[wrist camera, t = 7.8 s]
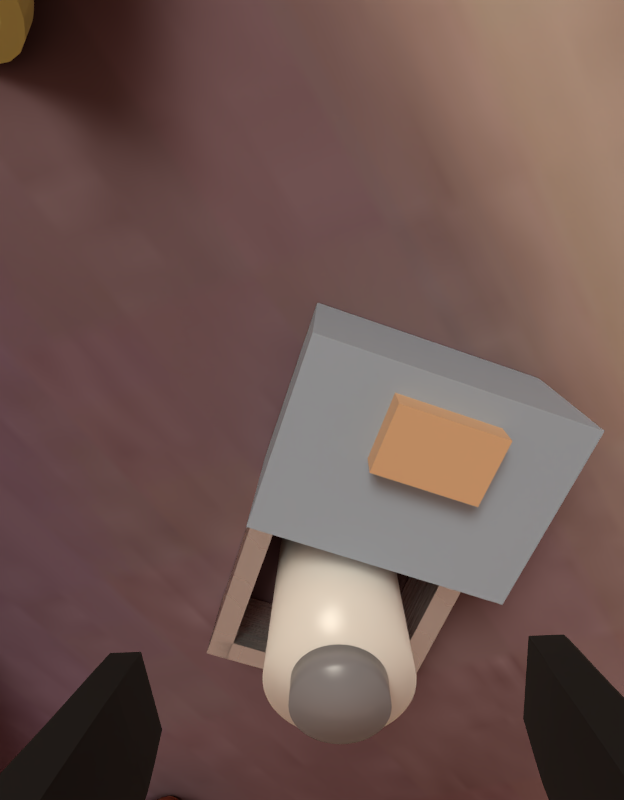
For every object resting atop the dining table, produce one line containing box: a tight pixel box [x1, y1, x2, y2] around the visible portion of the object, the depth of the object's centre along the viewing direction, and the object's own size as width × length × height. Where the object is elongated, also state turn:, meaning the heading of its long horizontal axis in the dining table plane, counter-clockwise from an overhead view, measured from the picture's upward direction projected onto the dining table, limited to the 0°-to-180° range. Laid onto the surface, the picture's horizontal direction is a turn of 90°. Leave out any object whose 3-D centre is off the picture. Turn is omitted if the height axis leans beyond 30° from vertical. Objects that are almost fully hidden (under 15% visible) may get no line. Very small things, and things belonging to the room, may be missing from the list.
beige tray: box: [207, 527, 461, 673], centre depth 19 cm, size 8×8×2 cm
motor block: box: [246, 303, 604, 604], centre depth 16 cm, size 8×6×5 cm
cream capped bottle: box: [263, 538, 417, 744], centre depth 17 cm, size 4×4×7 cm
